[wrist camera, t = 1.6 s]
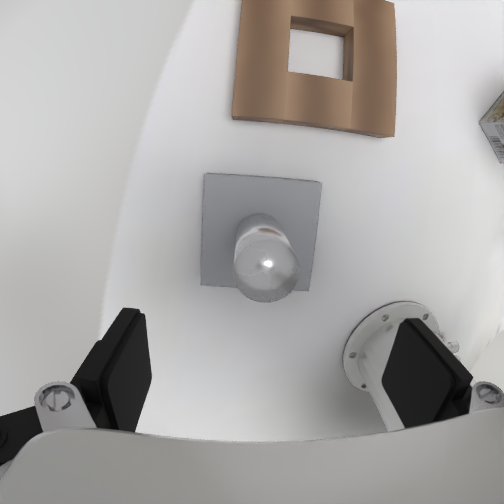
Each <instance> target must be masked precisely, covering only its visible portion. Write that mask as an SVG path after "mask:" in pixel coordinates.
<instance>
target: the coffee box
mask: <svg viewBox="0 0 504 504" xmlns="http://www.w3.org/2000/svg"><path fill="white" fill-rule="evenodd" d="M479 124H480V126H481V127H482V129H483V131H484V133H485V134H486V136H487V138H488V140H489V142H490V144H491V145H492V147H493V149H494V151H495V153H496V155H497V157H498V159H499V161H500V163H504V92H503V94H502V95H501V96H500V97H499V99H498V100H497V101H496V102H495V104H494V105H493V106H492V107H491V109H490V110H489V111H488V112H487V113H486V115H485V116H484V117H483V118H482V119H481V121H480V122H479Z"/></svg>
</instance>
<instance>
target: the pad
mask: <svg viewBox="0 0 504 504" xmlns="http://www.w3.org/2000/svg"><path fill="white" fill-rule="evenodd" d="M321 189H322V183H320V182H318V181H310V180H300V179H289V178H277V177H264V176H251V175H235V174H216V173H206V174H204V193H203V217H202V247H201V285H205V286H220V287H236V288H238V287H237V285H236V283H235V280H234V276H233V267H234V256H235V244H236V234H237V229H238V226H239V224H240V223H241V221H242V220H243V219H244V218H246V217H247V216H249V215H251V214H254V213H266V214H269V215H271V216H272V217H274V218H275V219H276V220H277V221H278V222H279V224H280V226H281V228H282V230H283V231H284V233H285V235H286V237H287V239H288V241H289V243H290V245H291V247H292V249H293V251H294V253H295V255H296V257H297V259H298V262H299V267H300V274H299V279H298V282H297V284H296V286H295V287H294V289H293V290H294V291H309V286H310V279H311V272H312V264H313V257H314V249H315V241H316V233H317V225H318V216H319V207H320V198H321Z"/></svg>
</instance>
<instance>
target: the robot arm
mask: <svg viewBox="0 0 504 504" xmlns="http://www.w3.org/2000/svg"><path fill="white" fill-rule="evenodd" d="M458 350H459V343H458V342H449V343H445V342H444V340H443V339H442V338H441V337H440V336H439V328H438V323H437V321H436V319H435V317H434V316H433V314H432V313H431V312H430V311H429V310H428V309H426V308H425V307H424V306H422V305H420V304H418V303H413V302H398V303H393V304H390V305H388V306H385V307H382V308H381V309H379V310H377V311H375V312H374V313H372V314H371V315H370V316H368V317H367V318H366V319H365V320H364V321H363V322H362V323H361V324H360V325H359V326H358V327H357V328H356V329H355V331H354V332H353V333H352V335H351V336H350V338H349V340H348V342H347V344H346V347H345V350H344V355H343V366H344V370H345V373H346V375H347V377H348V379H349V381H350V382H351V383H352V384H353V385H354V386H355V387H356V388H358V389H360V390H362V391H366V392H370V394H371V397H372V399H373V401H374V403H375V405H376V407H377V409H378V411H379V413H380V416H381V418H382V420H383V422H384V424H385V426H386V428H387V432H381V433H374V434H367V435H360V436H352V437H343V438H332V439H320V440H305V441H280V442H240V441H216V440H201V439H189V438H178V437H169V436H161V435H152V434H143V433H135V430H136V427H137V424H138V420H139V417H140V414H141V411H142V408H143V405H144V402H145V399H146V396H147V393H148V390H149V387H150V384H151V379H152V372H151V365H150V357H149V348H148V339H147V329H146V318H145V314H142V313H140V310H139V309H133V308H123V309H122V310H121V311H120V313H119V314H118V316H117V317H116V319H115V320H114V322H113V323H112V325H111V326H110V328H109V329H108V331H107V332H106V334H105V335H104V337H103V338H102V340H99V341H97V342H96V343H95V345H94V347H93V348H92V349H91V351H90V352H89V354H88V355H87V357H86V359H85V360H84V362H83V363H82V365H81V366H80V368H79V369H78V371H77V373H76V374H75V376H74V377H73V379H72V381H71V382H70V383H66V382H51V383H49V384H46V385H44V386H43V387H41V388H40V389H39V390H38V391H37V393H36V395H35V398H34V401H35V406H33V407H30V408H26V409H23V410H20V411H17V412H14V413H10V414H7V415H3V416H0V504H504V393H503V392H502V390H501V389H500V388H499V387H497V386H496V385H494V384H492V383H490V382H478V383H476V382H475V381H474V379H473V376H472V375H471V374H470V373H469V371H468V370H467V369H466V368H465V367H464V366H463V365H462V364H461V362H460V358H459V357H458V356H457V355H456V356H454V355H453V354H452V353H456V352H458Z"/></svg>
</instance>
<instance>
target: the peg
mask: <svg viewBox="0 0 504 504" xmlns="http://www.w3.org/2000/svg"><path fill="white" fill-rule="evenodd" d="M299 274H300V267H299V262H298V259H297V257H296V255H295V253H294V251H293V249H292V247H291V245H290V243H289V241H288V239H287V237H286V235H285V233H284V231H283V230H282V228H281V226H280V224H279V222H278V221H277V220H276V219H275V218H274V217H272V216H271V215H269V214H266V213H254V214H251V215H249V216H247V217H246V218H244V219H243V220H242V221H241V223H240V224H239V226H238V229H237V234H236V244H235V256H234V267H233V276H234V280H235V283H236V285H237V287H238V289H239V290H240V291H241V292H242V293H243V294H244V295H245V296H246V297H248V298H250V299H252V300H254V301H258V302H273V301H277V300H280V299H282V298H284V297H285V296H287V295H288V294H289V293H290V292H291V291H292V290H293V289H294V287H295V286H296V284H297V282H298V279H299Z"/></svg>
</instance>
